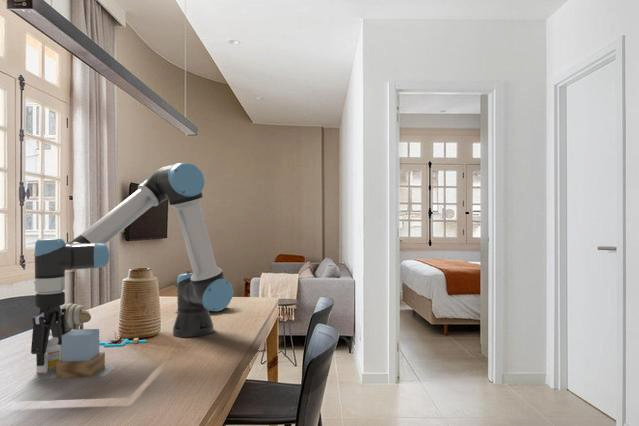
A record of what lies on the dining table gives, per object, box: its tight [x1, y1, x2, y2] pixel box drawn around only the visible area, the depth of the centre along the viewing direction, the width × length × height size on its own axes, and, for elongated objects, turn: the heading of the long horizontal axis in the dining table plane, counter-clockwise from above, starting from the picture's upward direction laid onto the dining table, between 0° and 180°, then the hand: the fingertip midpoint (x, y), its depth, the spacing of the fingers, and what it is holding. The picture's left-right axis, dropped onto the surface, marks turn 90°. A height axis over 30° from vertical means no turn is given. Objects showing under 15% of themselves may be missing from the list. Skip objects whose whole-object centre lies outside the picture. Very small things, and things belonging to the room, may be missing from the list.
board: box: [42, 365, 119, 380], centre depth 128 cm, size 16×10×2 cm, turn 93°
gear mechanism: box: [99, 330, 147, 348], centre depth 164 cm, size 20×5×9 cm
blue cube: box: [62, 328, 100, 362], centre depth 128 cm, size 7×7×7 cm
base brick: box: [56, 351, 106, 379], centre depth 128 cm, size 9×9×4 cm
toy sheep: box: [60, 302, 92, 332], centre depth 182 cm, size 11×17×11 cm, turn 98°
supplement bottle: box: [46, 336, 61, 371], centre depth 133 cm, size 5×5×10 cm
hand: (50, 371), depth 133 cm, fingers open, 8 cm apart
